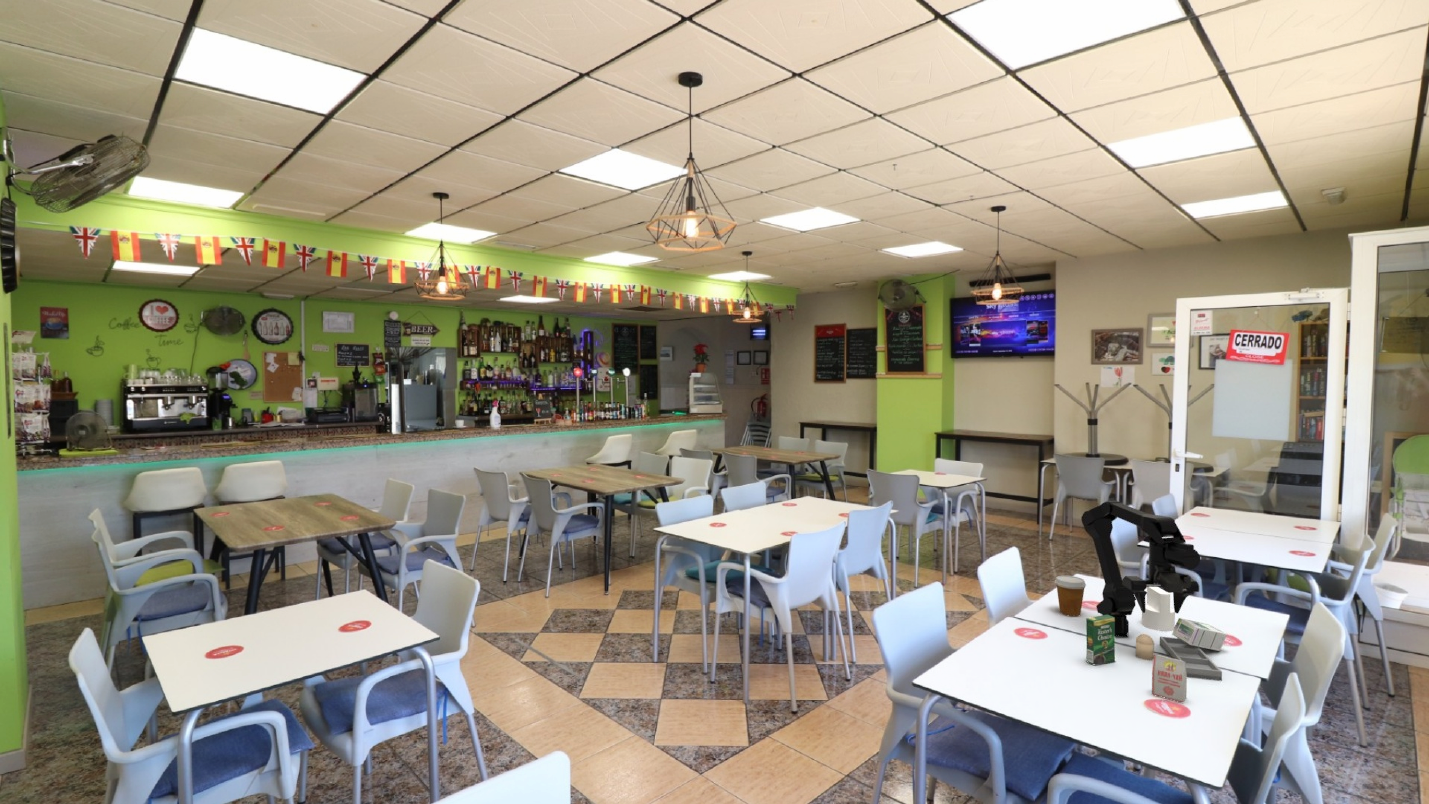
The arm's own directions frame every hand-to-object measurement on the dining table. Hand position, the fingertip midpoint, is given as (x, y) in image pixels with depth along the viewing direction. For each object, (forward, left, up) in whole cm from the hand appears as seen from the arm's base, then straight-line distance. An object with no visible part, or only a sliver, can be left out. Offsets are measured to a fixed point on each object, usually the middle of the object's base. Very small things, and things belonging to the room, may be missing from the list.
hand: (1159, 612), depth 198 cm
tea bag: (-6, -29, -13) cm, 32 cm away
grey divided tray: (+6, -3, -12) cm, 14 cm away
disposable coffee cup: (-19, +31, -13) cm, 38 cm away
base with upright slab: (+6, +26, -13) cm, 29 cm away
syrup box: (+17, +10, -10) cm, 22 cm away
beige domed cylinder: (-5, -3, -12) cm, 14 cm away
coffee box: (-18, -11, -13) cm, 24 cm away
